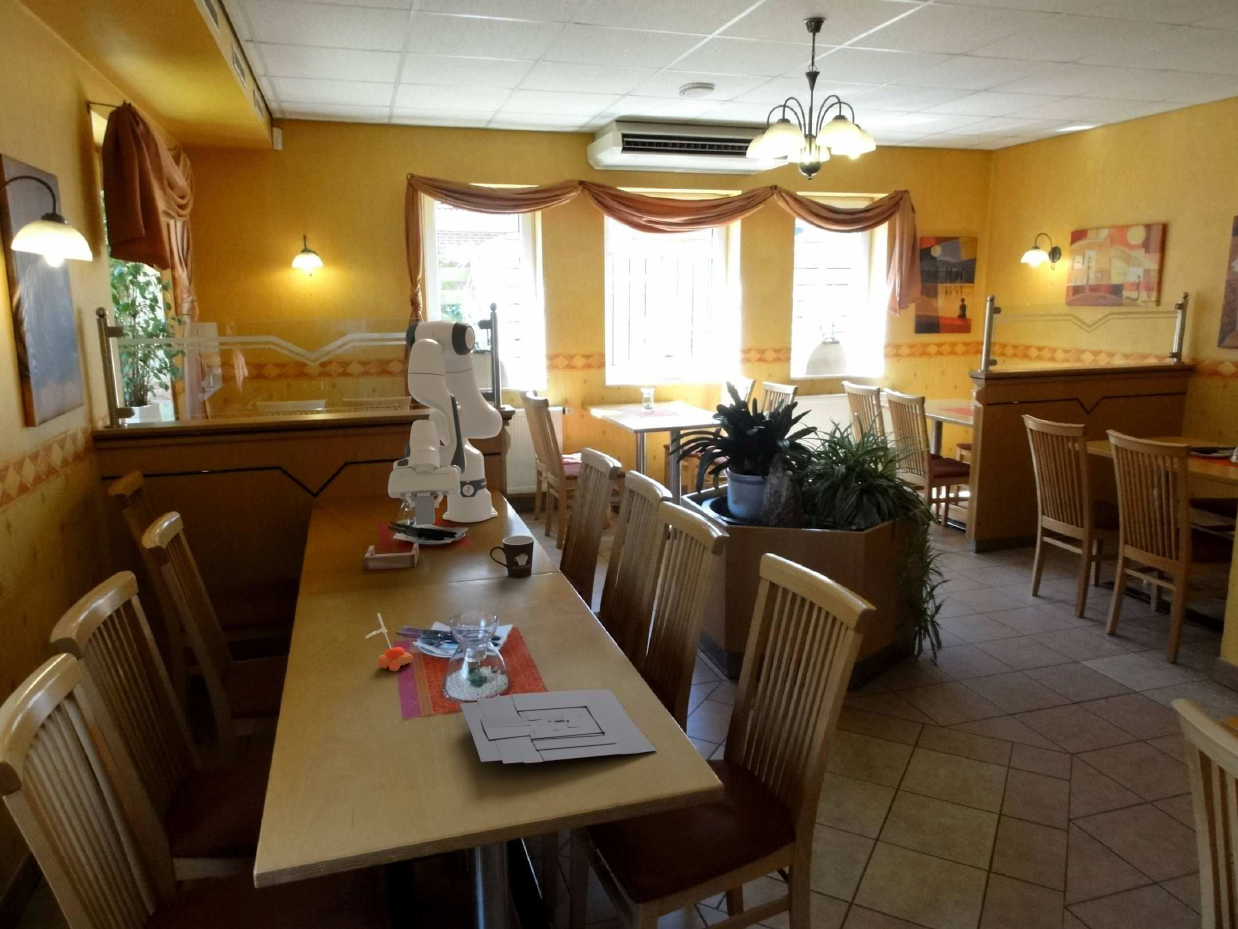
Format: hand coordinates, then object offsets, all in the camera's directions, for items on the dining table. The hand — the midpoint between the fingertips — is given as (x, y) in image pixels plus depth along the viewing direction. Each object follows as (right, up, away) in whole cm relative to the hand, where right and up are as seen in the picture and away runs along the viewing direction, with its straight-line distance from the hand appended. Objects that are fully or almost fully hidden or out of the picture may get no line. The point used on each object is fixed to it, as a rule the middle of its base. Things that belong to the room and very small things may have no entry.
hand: (424, 507), depth 237 cm
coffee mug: (+26, -19, -4) cm, 32 cm away
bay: (-11, -16, +8) cm, 21 cm away
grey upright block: (0, -4, +2) cm, 5 cm away
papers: (+43, -36, -88) cm, 105 cm away
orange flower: (+7, -31, -60) cm, 68 cm away
